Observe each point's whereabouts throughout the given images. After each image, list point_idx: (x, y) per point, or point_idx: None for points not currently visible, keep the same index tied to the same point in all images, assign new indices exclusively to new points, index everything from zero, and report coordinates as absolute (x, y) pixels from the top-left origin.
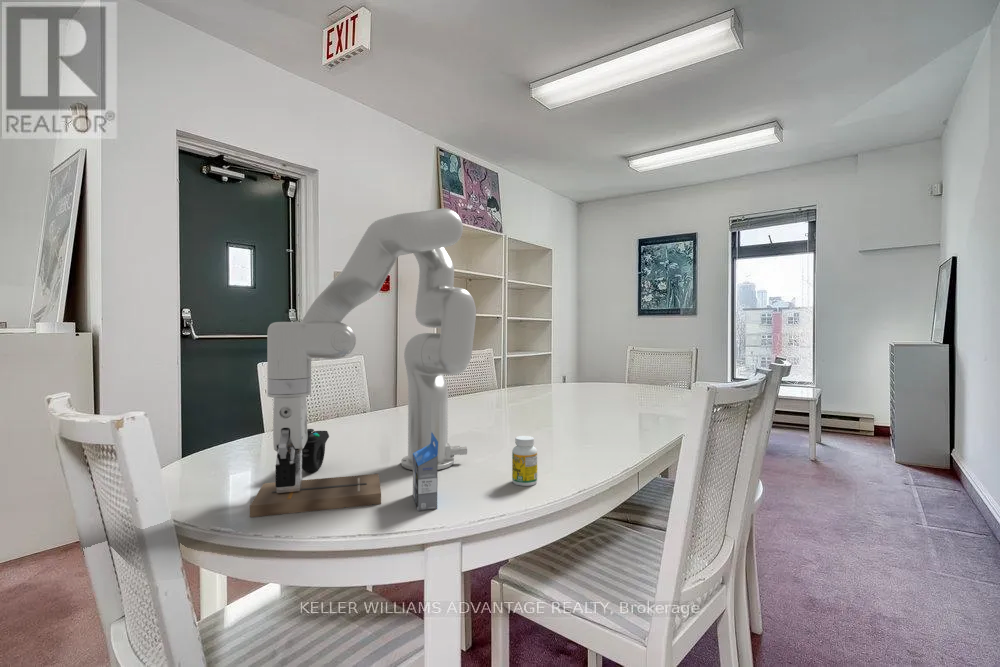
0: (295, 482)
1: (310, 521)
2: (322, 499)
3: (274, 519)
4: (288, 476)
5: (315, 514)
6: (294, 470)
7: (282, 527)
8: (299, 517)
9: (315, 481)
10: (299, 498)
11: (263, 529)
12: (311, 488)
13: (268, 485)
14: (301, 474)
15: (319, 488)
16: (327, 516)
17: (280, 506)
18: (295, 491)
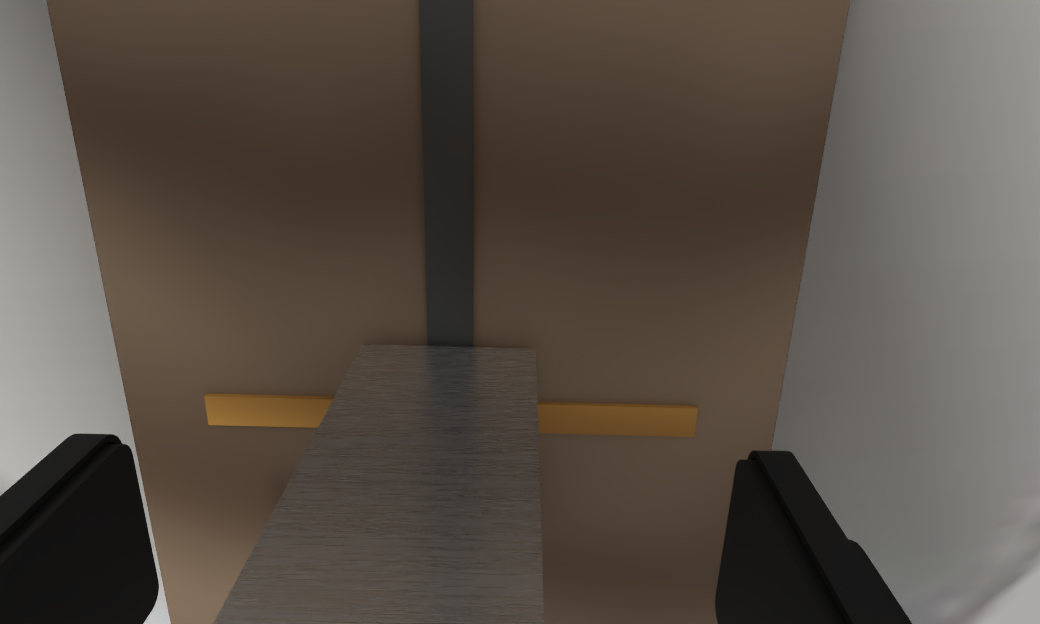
0: (760, 457)
1: (1016, 182)
2: (829, 98)
3: (824, 448)
4: (887, 597)
5: (869, 149)
6: (865, 583)
7: (1020, 379)
8: (874, 278)
9: (186, 212)
10: (715, 332)
11: (983, 492)
12: (450, 240)
13: None
14: (384, 415)
15: (471, 151)
16: (977, 32)
17: None
18: None
